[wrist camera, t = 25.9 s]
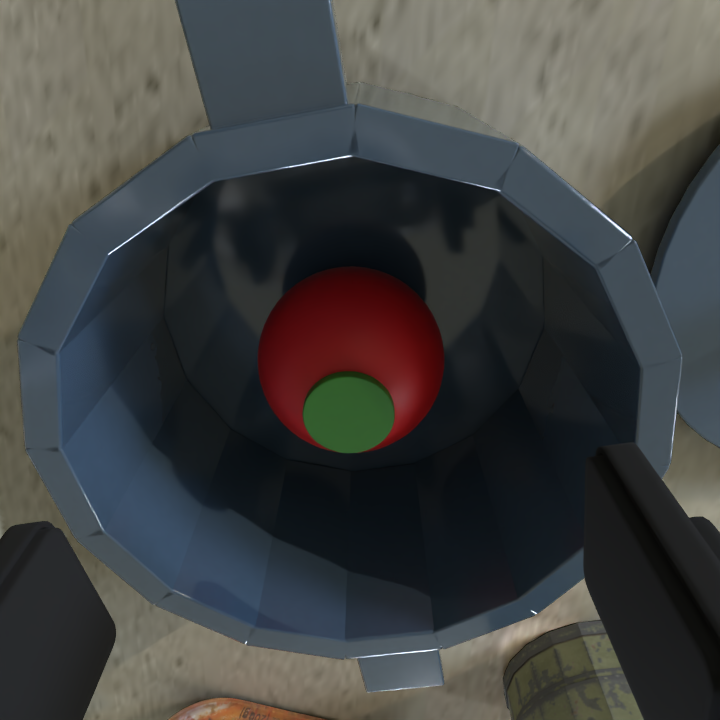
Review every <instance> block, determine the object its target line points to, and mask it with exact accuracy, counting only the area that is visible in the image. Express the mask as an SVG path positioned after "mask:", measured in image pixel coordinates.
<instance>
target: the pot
mask: <svg viewBox="0 0 720 720" xmlns="http://www.w3.org/2000/svg"><path fill="white" fill-rule="evenodd" d="M175 3H176V6H177V10H178V14H179V17H180V21H181V24H182V28H183V32H184V35H185V39H186V42H187V46H188V50H189V53H190V57H191V61H192V64H193V68H194V71H195V75H196V79H197V82H198V86H199V89H200V93H201V97H202V100H203V104H204V107H205V111H206V115H207V118H208V122H209V126H207V127H204V128H202V129H200V130H198V131H196V132H194V133H192V134H190V135H188V136H186V137H185V138H183V139H182V140H181V141H179V142H178V143H177V144H175V145H174V146H172V147H171V148H170V149H168V150H167V151H166V152H164V153H163V154H162V155H160V156H159V157H158V158H156V159H155V160H154V161H152V162H151V163H150V164H148V165H147V166H146V167H144V168H143V169H141V170H140V171H139V172H137V173H136V174H135V175H133V176H132V177H131V178H129V179H128V180H127V181H125V182H124V183H123V184H121V185H120V186H119V187H117V188H116V189H115V190H113V191H112V192H110V193H109V194H108V195H106V196H105V197H104V198H102V199H101V200H100V201H98V202H97V203H96V204H94V205H93V206H92V207H90V208H89V209H88V210H86V211H85V212H84V213H82V214H81V215H79V216H78V217H77V218H75V219H74V220H73V222H72V223H71V224H70V225H69V226H68V228H67V230H66V232H65V234H64V237H63V239H62V241H61V243H60V245H59V247H58V249H57V252H56V254H55V256H54V258H53V260H52V262H51V265H50V267H49V269H48V271H47V273H46V275H45V277H44V280H43V282H42V284H41V286H40V288H39V290H38V293H37V295H36V297H35V299H34V301H33V303H32V305H31V308H30V310H29V312H28V314H27V316H26V318H25V321H24V323H23V325H22V327H21V329H20V331H19V333H18V340H17V345H18V359H19V374H20V388H21V402H22V417H23V431H24V445H25V448H26V449H25V450H26V452H27V454H28V456H29V458H30V459H31V461H32V463H33V465H34V467H35V468H36V470H37V472H38V474H39V475H40V477H41V479H42V481H43V483H44V484H45V486H46V488H47V490H48V491H49V493H50V495H51V497H52V499H53V500H54V502H55V504H56V506H57V507H58V509H59V511H60V513H61V515H62V516H63V518H64V520H65V522H66V523H67V525H68V527H69V529H70V531H71V532H72V534H73V536H74V538H75V539H76V540H77V541H78V542H79V543H80V544H81V545H82V546H84V547H85V548H86V549H87V550H88V551H90V552H91V553H92V554H93V555H94V556H95V557H97V558H98V559H99V560H100V561H101V562H103V563H104V564H105V565H106V566H107V567H109V568H110V569H111V570H112V571H113V572H114V573H116V574H117V575H118V576H119V577H120V578H122V579H123V580H124V581H125V582H126V583H127V584H129V585H130V586H131V587H132V588H133V589H135V590H136V591H137V592H138V593H139V594H140V595H142V596H143V597H144V598H145V599H146V600H148V601H149V602H150V603H151V604H155V606H157V607H159V608H162V609H164V610H166V611H169V612H171V613H173V614H176V615H178V616H180V617H183V618H185V619H187V620H190V621H192V622H194V623H196V624H199V625H201V626H203V627H206V628H208V629H210V630H213V631H215V632H217V633H220V634H222V635H224V636H227V637H229V638H231V639H234V640H236V641H238V642H240V643H243V644H246V645H248V646H255V647H261V648H268V649H275V650H281V651H288V652H295V653H301V654H308V655H315V656H321V657H328V658H335V659H341V660H343V659H344V658H346V659H351V658H357V660H358V664H359V667H360V671H361V675H362V678H363V682H364V686H365V689H366V692H377V691H388V690H398V689H409V688H419V687H430V686H441V685H444V676H443V668H442V660H441V653H440V649H442V648H443V649H447V648H450V647H452V646H455V645H458V644H460V643H463V642H466V641H468V640H471V639H474V638H476V637H479V636H482V635H484V634H487V633H490V632H492V631H495V630H498V629H500V628H503V627H506V626H508V625H511V624H514V623H516V622H519V621H522V620H524V619H527V618H530V617H532V616H535V615H536V614H538V613H540V612H541V611H542V610H543V609H545V608H546V607H547V606H549V605H550V604H551V603H553V602H554V601H555V600H556V599H558V598H559V597H560V596H562V595H563V594H564V593H566V592H567V591H568V590H569V589H571V588H572V587H573V586H575V585H576V584H577V583H579V582H580V581H581V580H582V579H584V578H585V577H584V571H583V555H584V507H585V463H586V458H587V457H592V456H595V454H596V450H597V448H598V447H600V446H608V445H615V444H622V443H630V442H633V443H635V444H636V445H637V446H638V447H639V448H640V450H641V451H642V452H643V454H644V455H645V457H646V458H647V460H648V461H649V462H650V464H651V465H652V467H653V468H654V469H655V471H656V472H657V474H658V475H659V476H660V478H661V479H663V477H664V475H665V474H666V472H667V470H668V469H669V465H670V464H671V459H672V450H673V441H674V432H675V423H676V414H677V405H678V396H679V387H680V378H681V369H682V360H683V358H682V352H681V349H680V347H679V344H678V342H677V339H676V337H675V334H674V332H673V330H672V327H671V325H670V322H669V320H668V317H667V315H666V312H665V310H664V308H663V305H662V303H661V300H660V298H659V295H658V293H657V291H656V288H655V286H654V283H653V281H652V278H651V276H650V273H649V271H648V269H647V266H646V264H645V261H644V259H643V256H642V254H641V251H640V249H639V247H638V244H637V242H636V241H635V240H634V239H633V238H632V236H631V235H630V234H629V233H628V232H627V231H625V230H624V229H623V228H622V227H621V226H619V225H618V224H617V223H616V222H614V221H613V220H612V219H611V218H610V217H608V216H607V215H606V214H605V213H604V212H602V211H601V210H600V209H599V208H598V207H596V206H595V205H594V204H593V203H592V202H590V201H589V200H588V199H587V198H585V197H584V196H583V195H582V194H581V193H579V192H578V191H577V190H576V189H575V188H573V187H572V186H571V185H570V184H569V183H567V182H566V181H565V180H564V179H563V178H561V177H560V176H559V175H558V174H556V173H555V172H554V171H553V170H552V169H550V168H549V167H548V166H547V165H546V164H544V163H543V162H542V161H541V160H540V159H538V158H537V157H536V156H535V155H534V154H532V153H531V152H530V151H529V150H527V149H526V148H525V147H524V146H522V145H521V144H519V143H517V142H516V141H514V140H512V139H511V138H509V137H507V136H506V135H504V134H502V133H501V132H499V131H497V130H496V129H494V128H493V127H491V126H489V125H488V124H486V123H484V122H483V121H481V120H479V119H478V118H476V117H474V116H473V115H471V114H469V113H468V112H466V111H464V110H463V109H461V108H459V107H458V106H455V105H451V104H447V103H443V102H439V101H435V100H431V99H427V98H423V97H419V96H416V95H413V94H410V93H406V92H401V91H395V90H391V89H388V88H384V87H380V86H376V85H372V84H368V83H364V82H360V83H359V82H355V83H350V84H347V82H346V76H345V70H344V64H343V58H342V52H341V46H340V40H339V34H338V28H337V22H336V15H335V9H334V3H333V0H175ZM350 266H355V267H365V268H370V269H375V270H378V271H381V272H384V273H387V274H389V275H391V276H393V277H395V278H397V279H399V280H401V281H402V282H403V283H405V284H406V285H408V286H409V287H410V288H411V289H412V290H414V291H415V292H416V293H417V294H418V295H419V296H420V297H421V299H422V300H423V301H424V302H425V303H426V305H427V306H428V308H429V309H430V311H431V312H432V314H433V316H434V318H435V320H436V323H437V325H438V327H439V330H440V333H441V337H442V340H443V348H444V372H443V378H442V383H441V387H440V390H439V393H438V395H437V397H436V399H435V401H434V403H433V405H432V407H431V409H430V410H429V412H428V413H427V415H426V416H425V417H424V419H423V420H422V421H421V422H420V423H419V424H418V425H417V426H416V427H415V428H414V429H413V430H412V431H411V432H410V433H408V434H407V435H406V436H404V437H403V438H401V439H400V440H398V441H396V442H394V443H392V444H390V445H388V446H386V447H383V448H380V449H377V450H373V451H369V452H362V453H339V452H334V451H329V450H325V449H322V448H319V447H316V446H314V445H312V444H310V443H308V442H306V441H304V440H303V439H301V438H299V437H298V436H297V435H295V434H294V433H292V432H291V431H290V430H289V429H288V428H287V427H286V426H285V425H284V424H283V423H282V422H281V421H280V420H279V418H278V417H277V416H276V415H275V413H274V412H273V410H272V409H271V407H270V405H269V404H268V401H267V399H266V397H265V395H264V392H263V389H262V386H261V383H260V379H259V372H258V348H259V341H260V337H261V333H262V330H263V327H264V324H265V322H266V320H267V318H268V316H269V314H270V312H271V311H272V309H273V308H274V306H275V305H276V303H277V302H278V301H279V300H280V299H281V297H282V296H283V295H284V294H285V293H286V292H287V291H288V290H290V289H291V288H292V287H293V286H295V285H296V284H297V283H298V282H300V281H302V280H303V279H305V278H307V277H309V276H311V275H313V274H315V273H317V272H321V271H324V270H327V269H332V268H338V267H350Z"/></svg>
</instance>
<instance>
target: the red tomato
mask: <svg viewBox="0 0 720 720" xmlns="http://www.w3.org/2000/svg"><path fill="white" fill-rule="evenodd" d="M258 372H259V379H260V383H261V386H262V389H263V392H264V395H265V397H266V399H267V401H268V404H269V405H270V407H271V409H272V410H273V412H274V413H275V415H276V416H277V417H278V418H279V420H280V421H281V422H282V423H283V424H284V425H285V426H286V427H287V428H288V429H289V430H290V431H291V432H292V433H294V434H295V435H297V436H298V437H299V438H301V439H303V440H304V441H306V442H308V443H310V444H312V445H314V446H316V447H319V448H322V449H325V450H329V451H334V452H339V453H362V452H369V451H373V450H377V449H380V448H383V447H386V446H388V445H390V444H392V443H394V442H396V441H398V440H400V439H401V438H403V437H404V436H406V435H407V434H408V433H410V432H411V431H412V430H413V429H414V428H415V427H416V426H417V425H418V424H419V423H420V422H421V421H422V420H423V419H424V417H425V416H426V415H427V413H428V412H429V410H430V409H431V407H432V405H433V403H434V401H435V399H436V397H437V395H438V393H439V390H440V387H441V383H442V378H443V372H444V348H443V340H442V337H441V333H440V330H439V327H438V325H437V323H436V320H435V318H434V316H433V314H432V312H431V311H430V309H429V308H428V306H427V305H426V303H425V302H424V301H423V300H422V299H421V297H420V296H419V295H418V294H417V293H416V292H415V291H414V290H412V289H411V288H410V287H409V286H408V285H406V284H405V283H403V282H402V281H401V280H399V279H397V278H395V277H393V276H391V275H389V274H387V273H384V272H381V271H378V270H375V269H370V268H365V267H355V266H350V267H338V268H332V269H327V270H324V271H321V272H317V273H315V274H313V275H311V276H309V277H307V278H305V279H303V280H302V281H300V282H298V283H297V284H296V285H295V286H293V287H292V288H291V289H290V290H288V291H287V292H286V293H285V294H284V295H283V296H282V297H281V299H280V300H279V301H278V302H277V303H276V305H275V306H274V308H273V309H272V311H271V312H270V314H269V316H268V318H267V320H266V322H265V324H264V327H263V330H262V333H261V337H260V341H259V348H258Z"/></svg>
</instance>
